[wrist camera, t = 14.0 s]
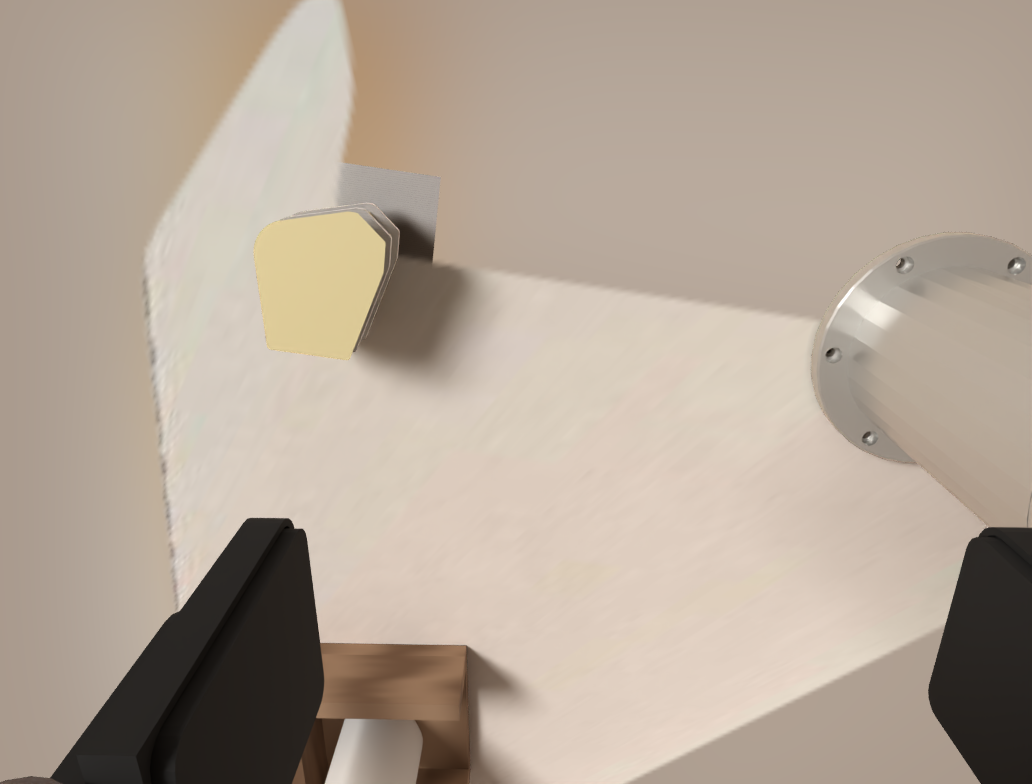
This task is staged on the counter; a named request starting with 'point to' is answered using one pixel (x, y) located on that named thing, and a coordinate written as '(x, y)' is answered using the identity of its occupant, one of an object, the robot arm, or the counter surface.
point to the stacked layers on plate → (342, 259)
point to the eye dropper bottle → (376, 752)
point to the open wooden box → (395, 704)
